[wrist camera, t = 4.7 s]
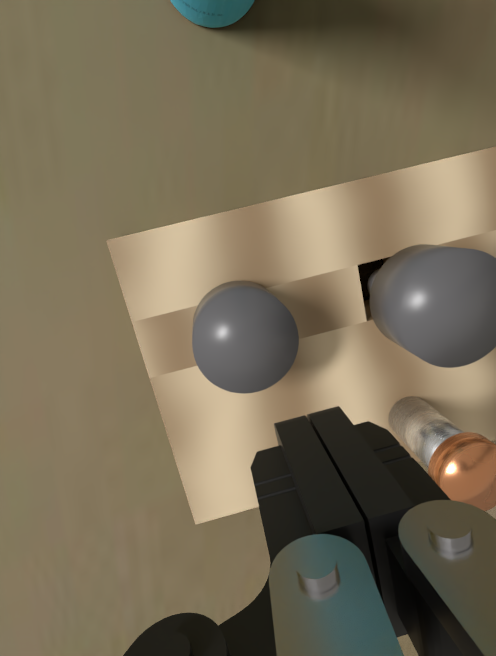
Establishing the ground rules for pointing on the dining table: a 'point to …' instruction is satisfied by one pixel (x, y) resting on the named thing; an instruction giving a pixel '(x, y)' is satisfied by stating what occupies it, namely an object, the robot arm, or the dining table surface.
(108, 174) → the dining table surface
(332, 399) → the panel
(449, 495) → the orange light bulb
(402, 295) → the knob middle
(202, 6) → the teal bottle
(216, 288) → the knob
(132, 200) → the dining table surface
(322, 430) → the robot arm
